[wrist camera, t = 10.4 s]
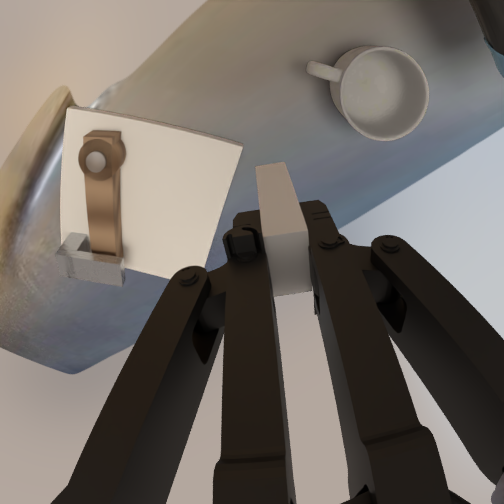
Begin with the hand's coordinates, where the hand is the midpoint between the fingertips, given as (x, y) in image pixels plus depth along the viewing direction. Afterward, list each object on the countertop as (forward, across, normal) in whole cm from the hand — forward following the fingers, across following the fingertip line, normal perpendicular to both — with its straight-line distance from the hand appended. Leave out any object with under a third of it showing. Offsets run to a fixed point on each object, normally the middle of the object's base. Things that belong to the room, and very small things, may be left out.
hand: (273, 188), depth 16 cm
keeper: (+24, +27, +15) cm, 39 cm away
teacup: (+25, -13, -2) cm, 28 cm away
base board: (+24, +18, +9) cm, 32 cm away
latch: (+23, +22, +8) cm, 33 cm away
